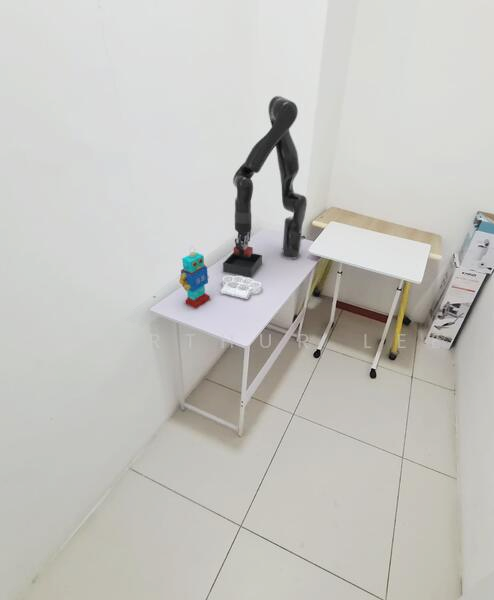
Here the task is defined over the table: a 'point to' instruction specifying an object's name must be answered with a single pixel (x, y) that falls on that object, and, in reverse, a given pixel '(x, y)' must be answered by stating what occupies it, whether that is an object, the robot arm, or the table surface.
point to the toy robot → (194, 279)
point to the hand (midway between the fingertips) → (243, 253)
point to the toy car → (247, 251)
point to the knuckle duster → (240, 286)
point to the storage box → (242, 264)
